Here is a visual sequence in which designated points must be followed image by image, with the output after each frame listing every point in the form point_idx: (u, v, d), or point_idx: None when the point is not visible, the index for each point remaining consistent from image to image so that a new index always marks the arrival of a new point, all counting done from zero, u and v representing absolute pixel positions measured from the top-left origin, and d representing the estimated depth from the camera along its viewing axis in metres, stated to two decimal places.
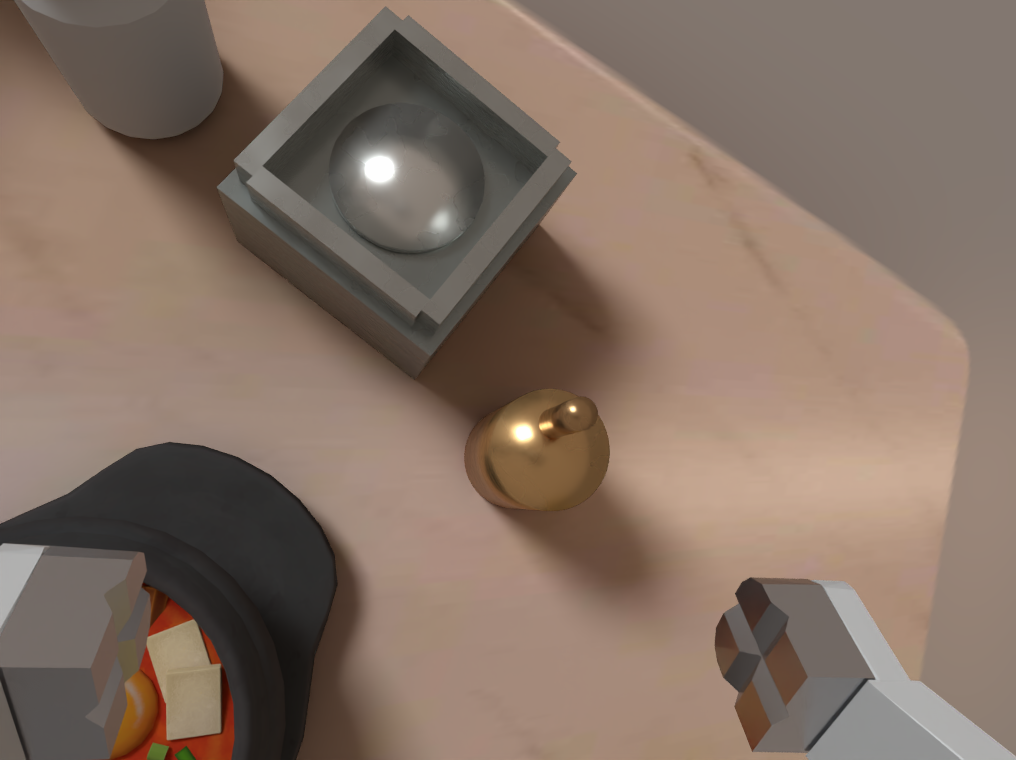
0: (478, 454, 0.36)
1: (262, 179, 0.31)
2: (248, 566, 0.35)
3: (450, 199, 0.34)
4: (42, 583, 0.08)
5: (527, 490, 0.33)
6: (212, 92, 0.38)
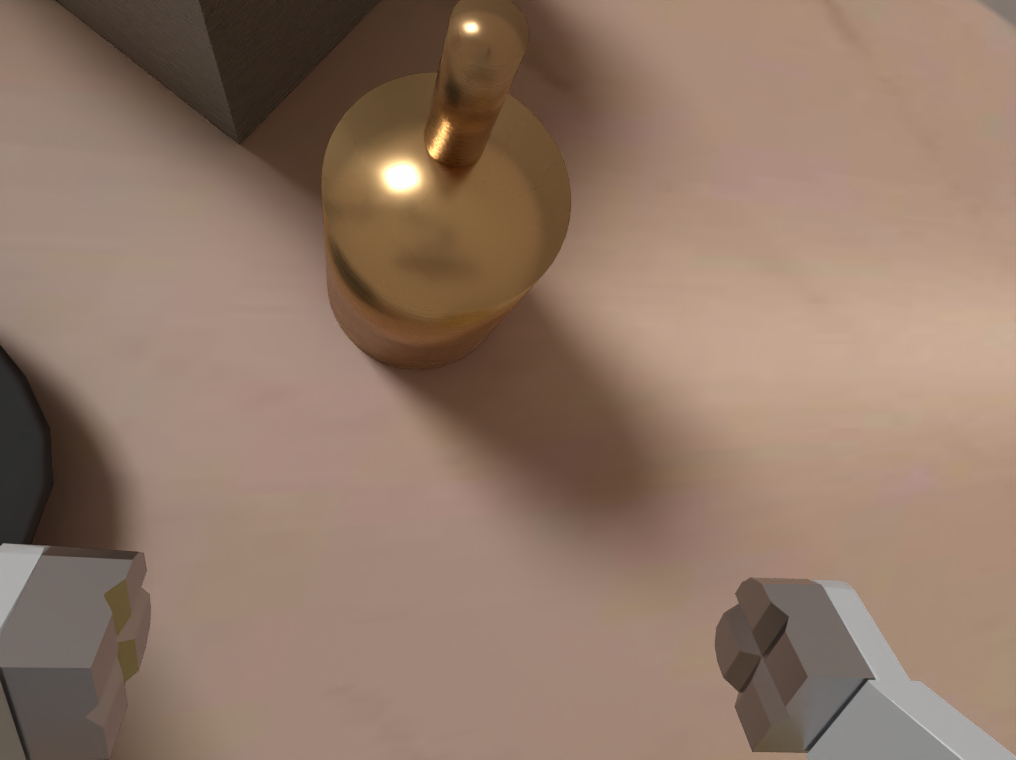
0: (324, 236, 0.19)
1: None
2: None
3: None
4: (42, 583, 0.08)
5: (396, 267, 0.16)
6: None
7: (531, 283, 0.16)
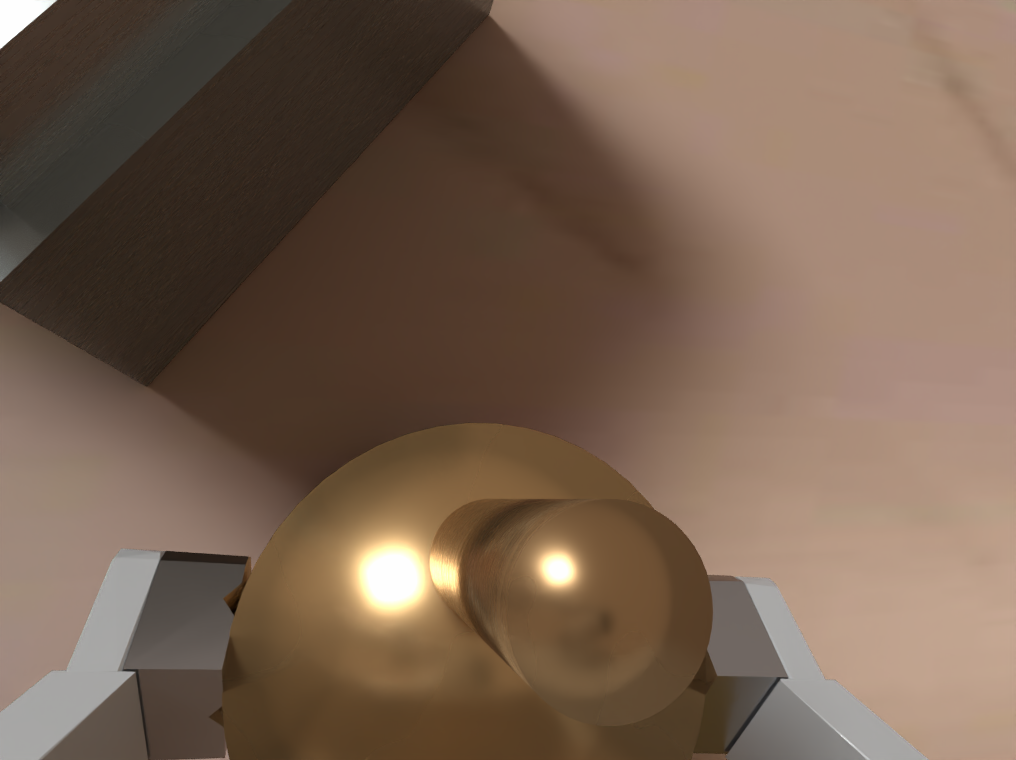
0: None
1: None
2: None
3: None
4: (165, 587, 0.08)
5: None
6: None
7: None
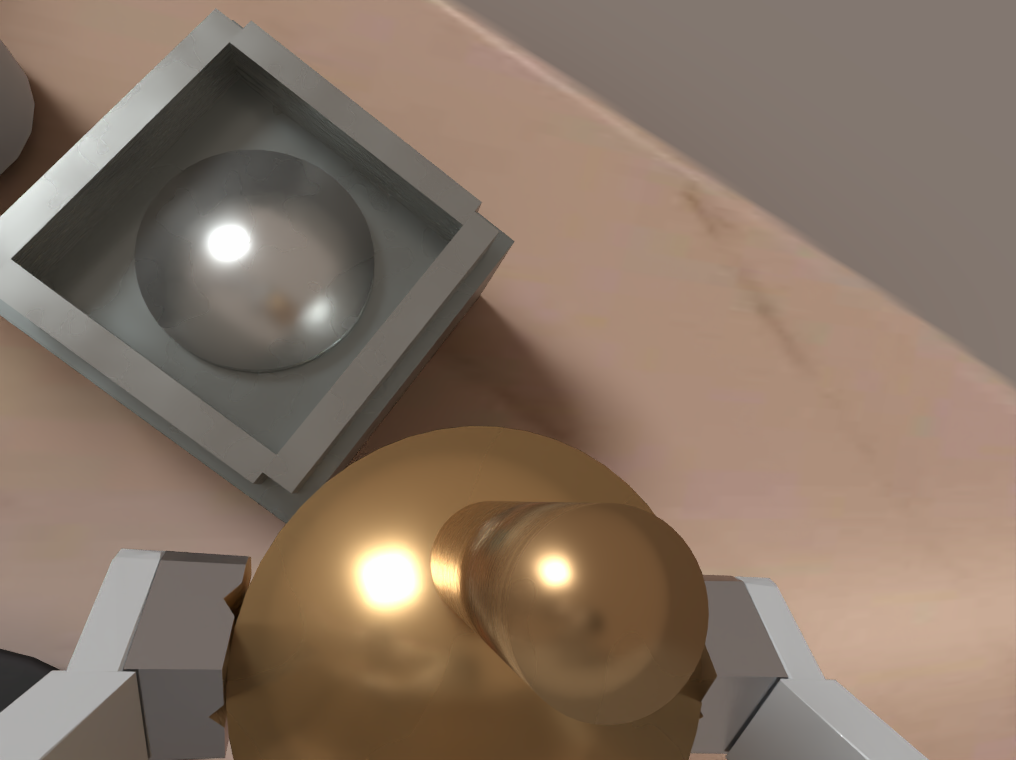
0: None
1: (10, 280, 0.20)
2: None
3: (321, 290, 0.23)
4: (165, 587, 0.08)
5: None
6: (7, 134, 0.27)
7: None
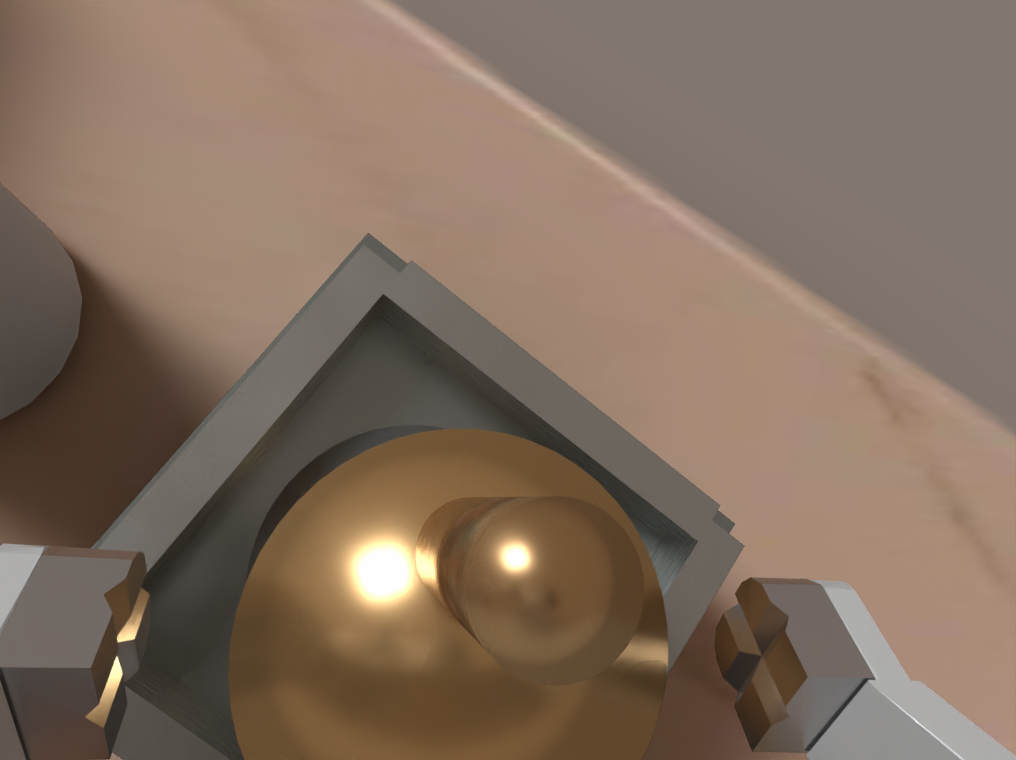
0: None
1: None
2: None
3: None
4: (42, 583, 0.08)
5: None
6: (49, 352, 0.20)
7: None
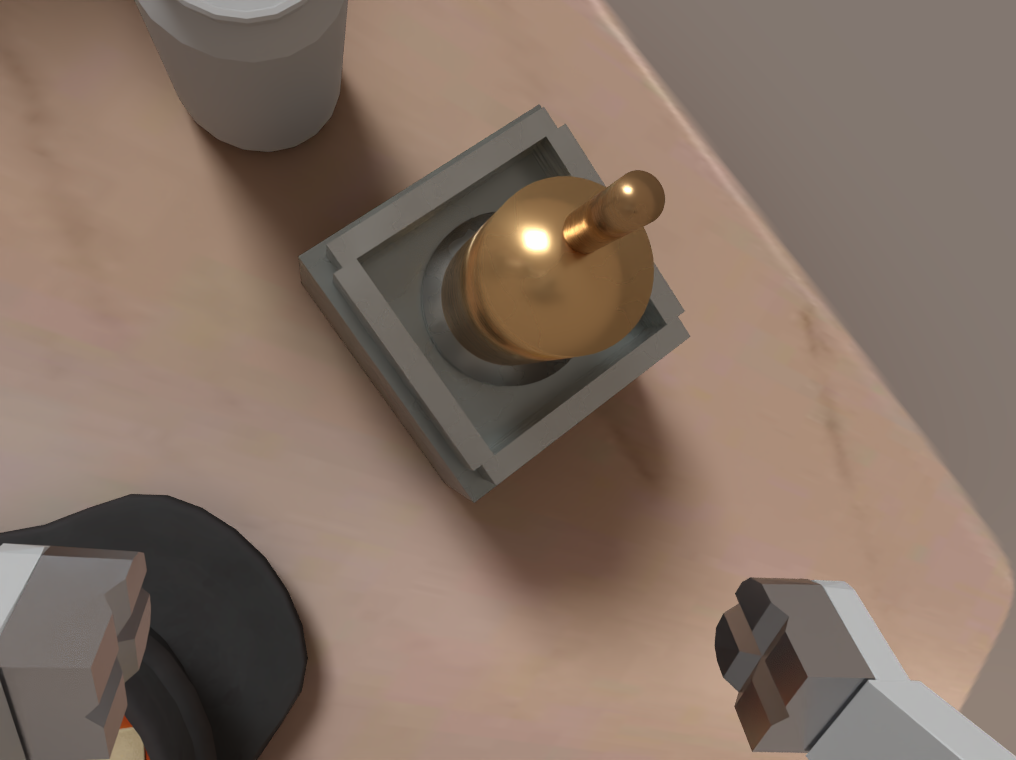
0: (464, 257, 0.25)
1: (352, 274, 0.27)
2: (214, 651, 0.32)
3: None
4: (42, 583, 0.08)
5: (519, 311, 0.22)
6: (321, 118, 0.33)
7: (605, 348, 0.23)
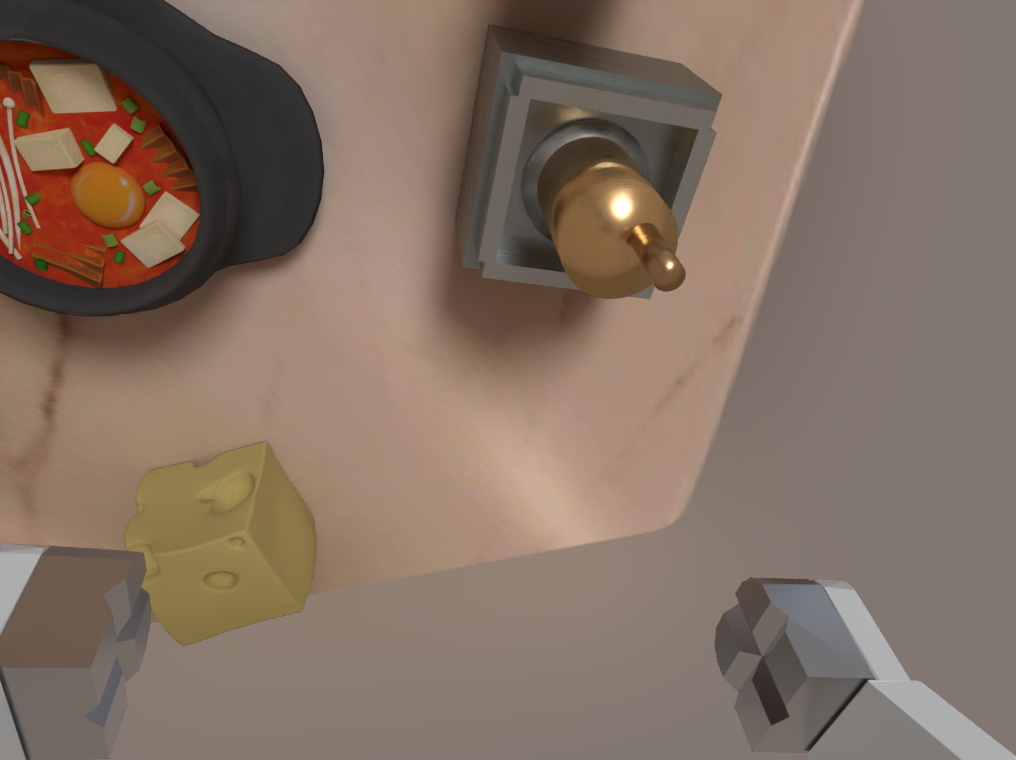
0: (581, 170, 0.35)
1: (519, 105, 0.36)
2: (254, 194, 0.44)
3: None
4: (42, 583, 0.08)
5: (573, 244, 0.34)
6: None
7: (593, 295, 0.35)
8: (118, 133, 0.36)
